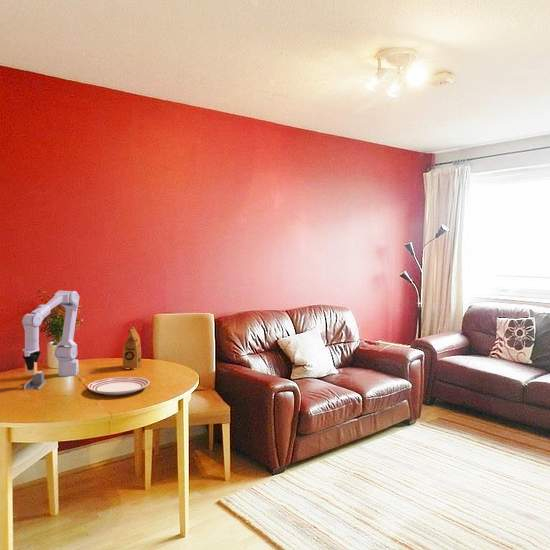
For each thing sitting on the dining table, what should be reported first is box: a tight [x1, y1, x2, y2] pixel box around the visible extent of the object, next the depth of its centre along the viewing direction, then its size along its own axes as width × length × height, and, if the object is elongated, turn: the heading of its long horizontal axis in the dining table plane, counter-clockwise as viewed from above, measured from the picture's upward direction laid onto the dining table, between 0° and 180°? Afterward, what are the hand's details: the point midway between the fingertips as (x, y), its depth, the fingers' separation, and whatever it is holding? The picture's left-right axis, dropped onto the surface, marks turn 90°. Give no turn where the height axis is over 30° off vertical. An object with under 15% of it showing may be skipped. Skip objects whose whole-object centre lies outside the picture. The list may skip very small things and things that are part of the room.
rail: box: [23, 378, 47, 391], centre depth 220 cm, size 6×12×3 cm, turn 12°
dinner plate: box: [87, 376, 150, 396], centre depth 221 cm, size 28×27×3 cm
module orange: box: [24, 361, 38, 376], centre depth 218 cm, size 4×4×5 cm
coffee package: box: [122, 326, 142, 370], centre depth 262 cm, size 10×12×22 cm
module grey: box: [31, 370, 45, 384], centre depth 224 cm, size 4×4×5 cm
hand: (31, 368), depth 218 cm, fingers closed on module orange, 4 cm apart
